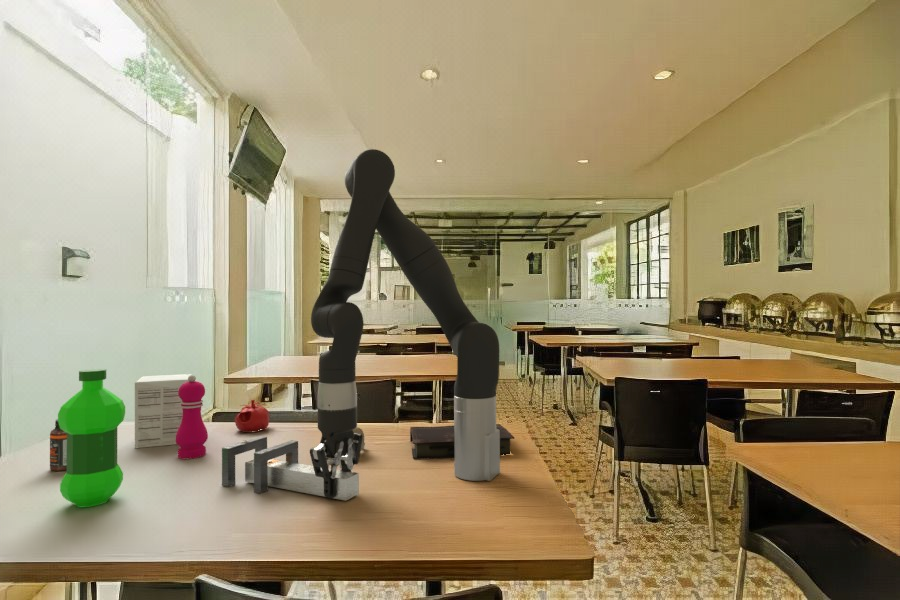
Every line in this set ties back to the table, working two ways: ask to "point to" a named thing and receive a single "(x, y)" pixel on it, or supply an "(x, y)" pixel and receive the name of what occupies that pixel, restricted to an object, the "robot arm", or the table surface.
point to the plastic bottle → (91, 441)
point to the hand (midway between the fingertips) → (337, 492)
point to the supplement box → (158, 409)
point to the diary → (445, 442)
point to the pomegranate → (252, 418)
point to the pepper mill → (191, 421)
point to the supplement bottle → (58, 449)
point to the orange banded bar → (305, 479)
